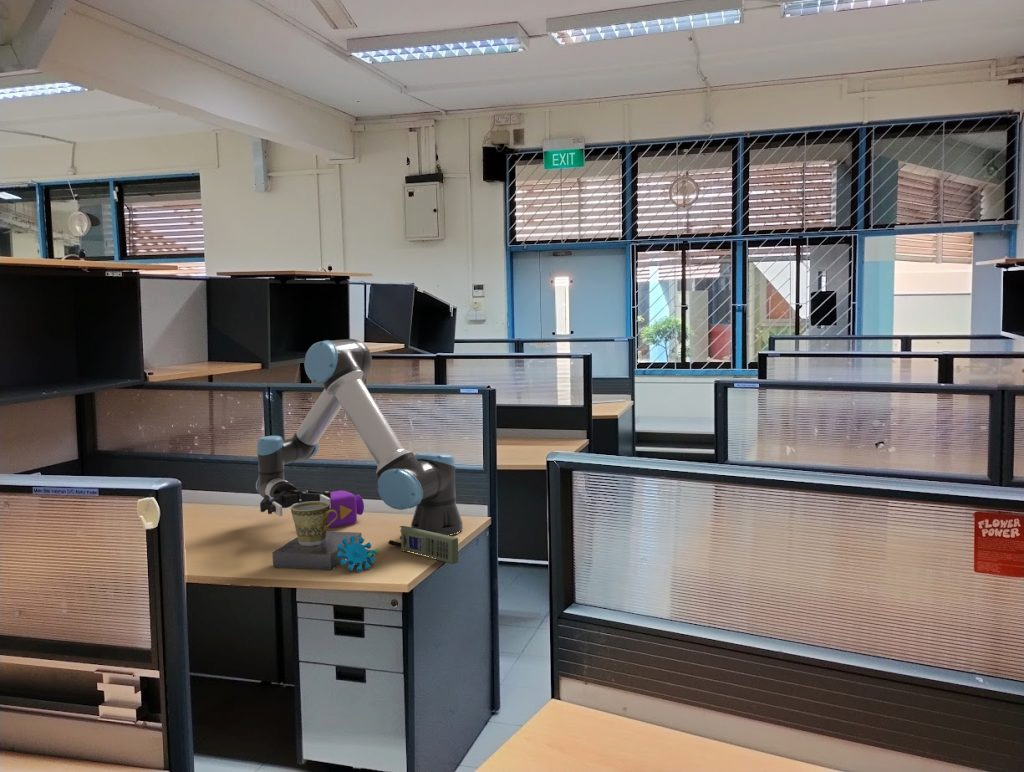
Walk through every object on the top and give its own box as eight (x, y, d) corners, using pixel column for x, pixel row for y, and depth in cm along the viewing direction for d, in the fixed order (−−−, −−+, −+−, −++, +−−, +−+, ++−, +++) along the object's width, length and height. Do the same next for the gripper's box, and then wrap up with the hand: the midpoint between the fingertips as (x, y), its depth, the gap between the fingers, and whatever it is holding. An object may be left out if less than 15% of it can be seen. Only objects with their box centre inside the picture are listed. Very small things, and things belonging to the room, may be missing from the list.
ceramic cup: (285, 546, 209) (283, 509, 208) (304, 536, 219) (303, 500, 218) (330, 549, 206) (328, 511, 205) (348, 538, 215) (346, 502, 214)
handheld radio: (451, 565, 204) (385, 548, 220) (460, 562, 207) (393, 545, 223) (451, 539, 204) (384, 524, 219) (460, 537, 206) (393, 522, 222)
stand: (362, 546, 221) (361, 532, 221) (331, 570, 202) (330, 554, 202) (308, 544, 225) (307, 530, 224) (273, 567, 205) (272, 552, 205)
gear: (341, 570, 197) (334, 535, 203) (334, 582, 201) (328, 547, 206) (383, 567, 203) (376, 533, 208) (376, 579, 206) (368, 545, 212)
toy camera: (371, 520, 249) (369, 489, 248) (334, 530, 238) (333, 497, 237) (349, 515, 256) (348, 484, 255) (313, 524, 246) (311, 492, 245)
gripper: (322, 499, 245) (349, 513, 227) (239, 512, 231) (260, 528, 214) (321, 475, 244) (348, 487, 226) (238, 486, 231) (259, 500, 213)
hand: (305, 507), depth 220 cm, fingers open, 13 cm apart
